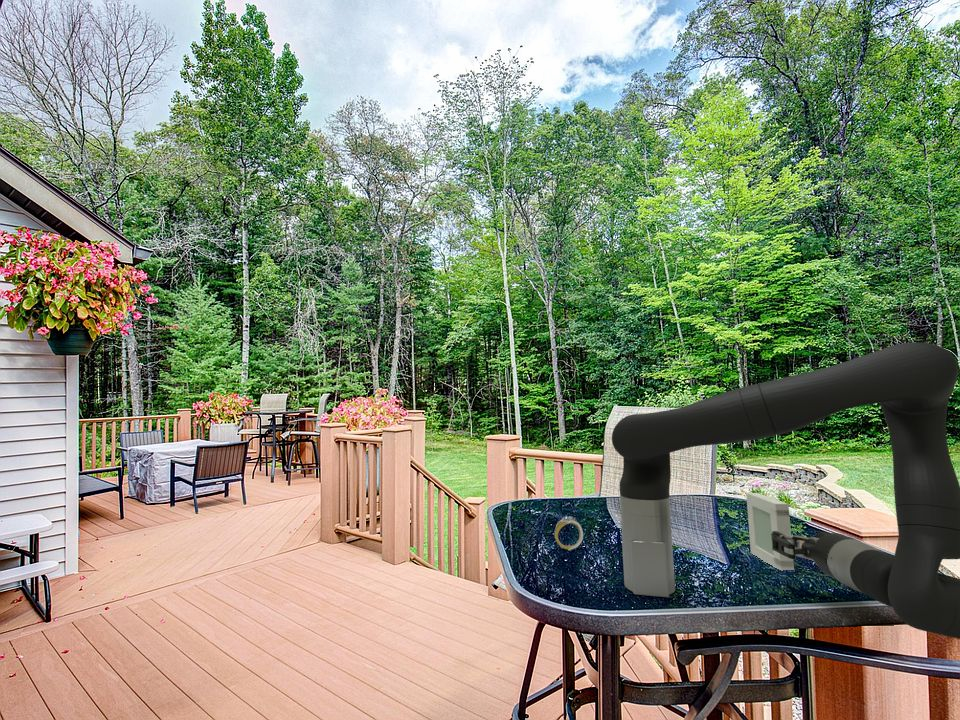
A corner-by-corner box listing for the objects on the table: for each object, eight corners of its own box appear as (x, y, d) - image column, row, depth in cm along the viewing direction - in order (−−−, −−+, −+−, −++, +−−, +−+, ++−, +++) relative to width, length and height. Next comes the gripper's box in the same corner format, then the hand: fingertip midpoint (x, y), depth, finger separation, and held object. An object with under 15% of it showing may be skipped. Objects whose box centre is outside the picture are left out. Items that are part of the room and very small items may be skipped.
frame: (794, 573, 95) (788, 503, 97) (781, 573, 95) (775, 503, 97) (762, 554, 108) (757, 492, 109) (750, 554, 108) (746, 492, 110)
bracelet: (582, 547, 115) (580, 514, 116) (584, 551, 112) (583, 517, 113) (554, 548, 115) (553, 515, 116) (556, 552, 112) (555, 518, 113)
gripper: (898, 540, 75) (833, 517, 91) (805, 539, 77) (757, 516, 93) (903, 588, 74) (837, 556, 90) (809, 586, 76) (760, 555, 92)
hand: (796, 536), depth 92 cm, fingers open, 8 cm apart
